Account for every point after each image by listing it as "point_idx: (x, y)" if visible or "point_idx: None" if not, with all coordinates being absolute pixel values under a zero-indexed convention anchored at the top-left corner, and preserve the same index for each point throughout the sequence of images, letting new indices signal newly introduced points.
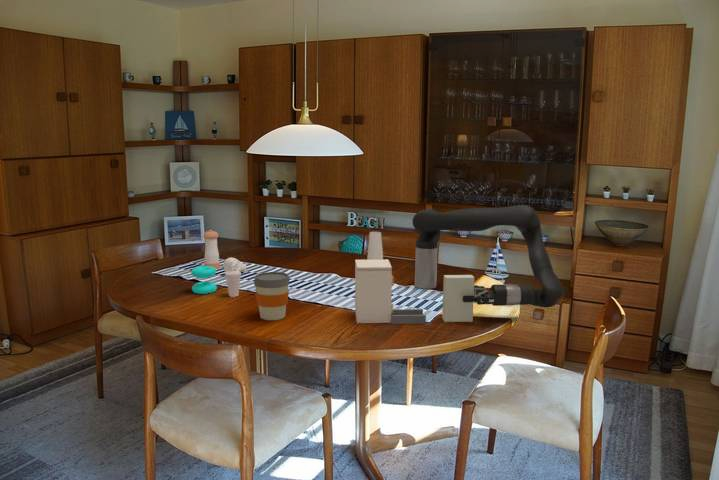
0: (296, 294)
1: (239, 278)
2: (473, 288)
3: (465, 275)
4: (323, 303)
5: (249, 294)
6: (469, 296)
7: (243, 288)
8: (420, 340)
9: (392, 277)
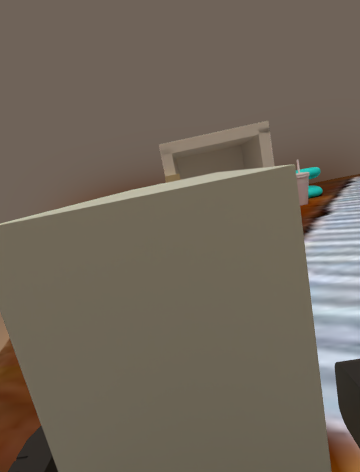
0: (347, 214)
1: (300, 181)
2: (66, 465)
3: (208, 177)
4: (310, 234)
5: (315, 205)
6: (26, 468)
7: (340, 198)
8: (22, 374)
9: (165, 178)
